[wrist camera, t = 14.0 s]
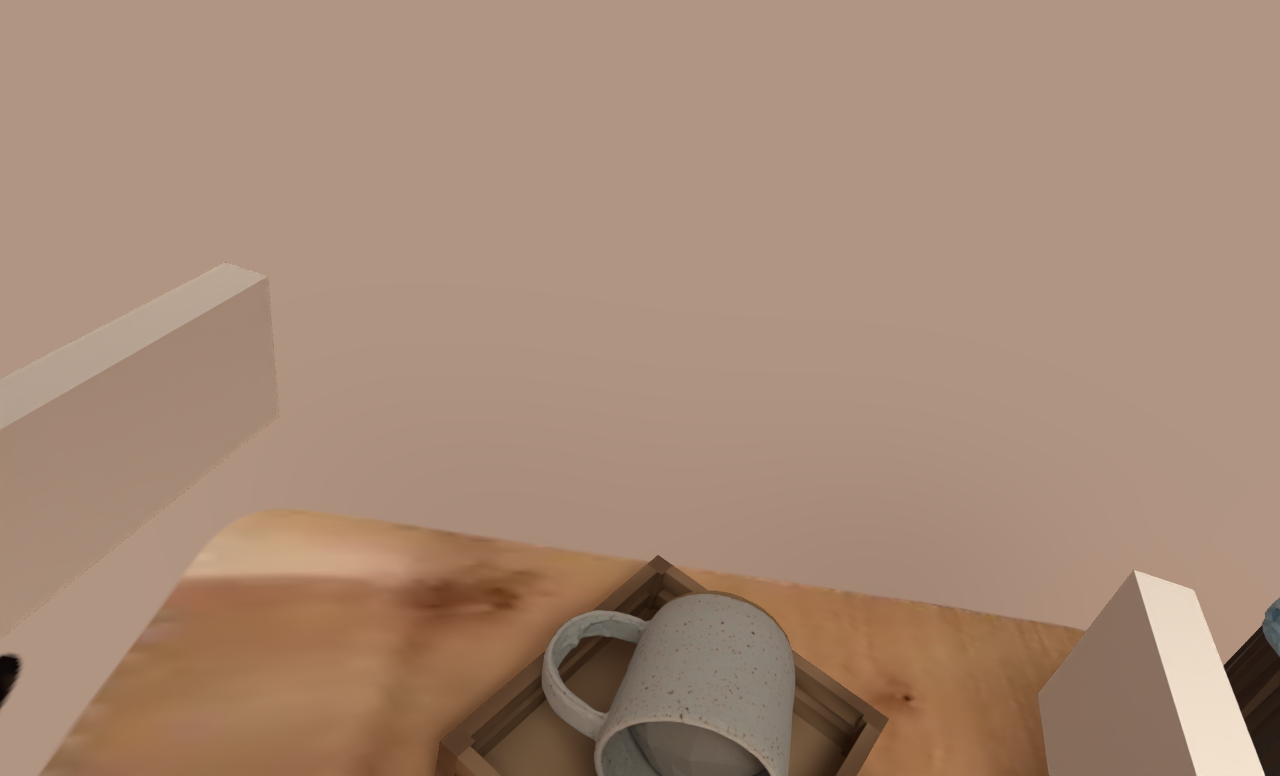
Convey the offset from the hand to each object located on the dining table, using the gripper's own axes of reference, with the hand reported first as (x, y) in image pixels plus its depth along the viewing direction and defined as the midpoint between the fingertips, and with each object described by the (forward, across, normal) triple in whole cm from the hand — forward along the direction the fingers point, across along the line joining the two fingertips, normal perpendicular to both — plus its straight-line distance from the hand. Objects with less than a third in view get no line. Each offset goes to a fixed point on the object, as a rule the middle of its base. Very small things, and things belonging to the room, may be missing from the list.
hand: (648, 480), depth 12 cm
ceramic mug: (+13, 0, -25) cm, 28 cm away
